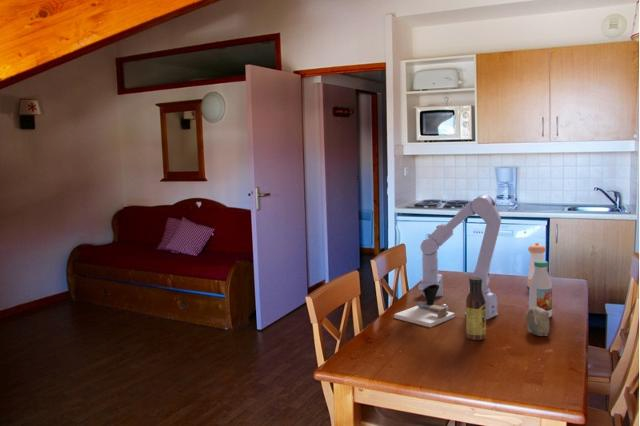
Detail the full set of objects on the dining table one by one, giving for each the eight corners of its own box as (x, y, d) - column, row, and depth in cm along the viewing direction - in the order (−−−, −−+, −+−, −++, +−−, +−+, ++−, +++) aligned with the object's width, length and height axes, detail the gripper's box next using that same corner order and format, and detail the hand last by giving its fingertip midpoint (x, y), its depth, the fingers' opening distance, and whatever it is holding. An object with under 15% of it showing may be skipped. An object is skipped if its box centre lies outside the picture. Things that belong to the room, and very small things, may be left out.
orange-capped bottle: (527, 288, 240) (528, 244, 237) (526, 284, 247) (527, 241, 244) (546, 289, 238) (547, 244, 235) (544, 284, 245) (545, 241, 242)
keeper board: (454, 317, 206) (454, 304, 205) (430, 327, 195) (430, 314, 195) (419, 308, 217) (419, 296, 217) (394, 317, 207) (394, 305, 206)
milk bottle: (527, 317, 202) (528, 263, 200) (530, 311, 209) (531, 258, 207) (550, 319, 199) (551, 264, 196) (552, 313, 206) (553, 260, 203)
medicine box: (441, 293, 237) (441, 273, 235) (443, 296, 232) (442, 276, 231) (422, 294, 237) (422, 274, 236) (423, 297, 233) (423, 276, 232)
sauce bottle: (486, 341, 180) (486, 281, 178) (466, 340, 182) (466, 280, 179) (485, 334, 187) (485, 276, 184) (465, 333, 188) (465, 275, 185)
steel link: (450, 312, 206) (450, 304, 205) (445, 314, 204) (445, 306, 203) (422, 305, 215) (422, 298, 214) (417, 307, 213) (416, 300, 212)
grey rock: (535, 344, 182) (531, 319, 179) (520, 332, 190) (515, 308, 187) (560, 333, 184) (556, 308, 180) (544, 321, 192) (539, 297, 188)
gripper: (430, 264, 221) (430, 297, 223) (411, 271, 210) (411, 307, 212) (446, 266, 217) (446, 300, 219) (427, 274, 206) (428, 310, 208)
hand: (430, 304), depth 215 cm, fingers closed
